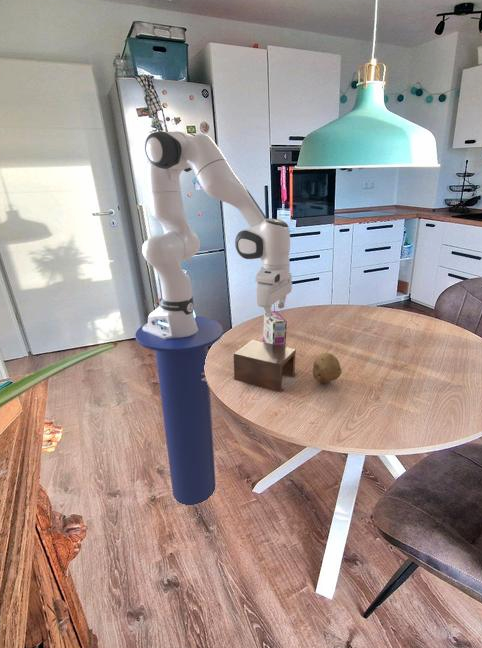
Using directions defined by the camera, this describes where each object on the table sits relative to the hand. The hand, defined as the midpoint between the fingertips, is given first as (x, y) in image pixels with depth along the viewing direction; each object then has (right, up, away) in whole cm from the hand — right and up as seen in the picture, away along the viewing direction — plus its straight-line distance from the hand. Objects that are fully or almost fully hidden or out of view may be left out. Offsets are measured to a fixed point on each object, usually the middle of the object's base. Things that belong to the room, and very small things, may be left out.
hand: (275, 312), depth 131 cm
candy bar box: (-1, -16, +8) cm, 18 cm away
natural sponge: (+17, -23, -6) cm, 29 cm away
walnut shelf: (-3, -22, -4) cm, 22 cm away
